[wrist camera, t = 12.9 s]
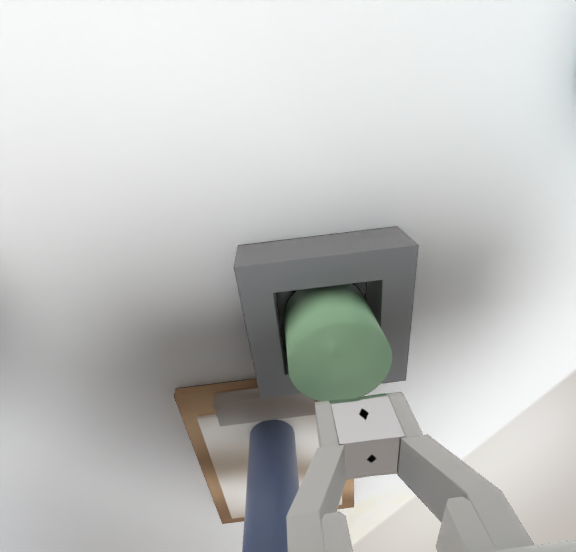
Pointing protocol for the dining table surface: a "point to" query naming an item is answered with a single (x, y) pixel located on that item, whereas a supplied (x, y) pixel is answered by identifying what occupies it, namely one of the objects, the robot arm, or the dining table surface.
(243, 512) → the clipboard
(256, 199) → the dining table surface
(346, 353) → the button
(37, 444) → the dining table surface
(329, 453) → the robot arm
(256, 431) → the marker
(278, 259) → the button housing
